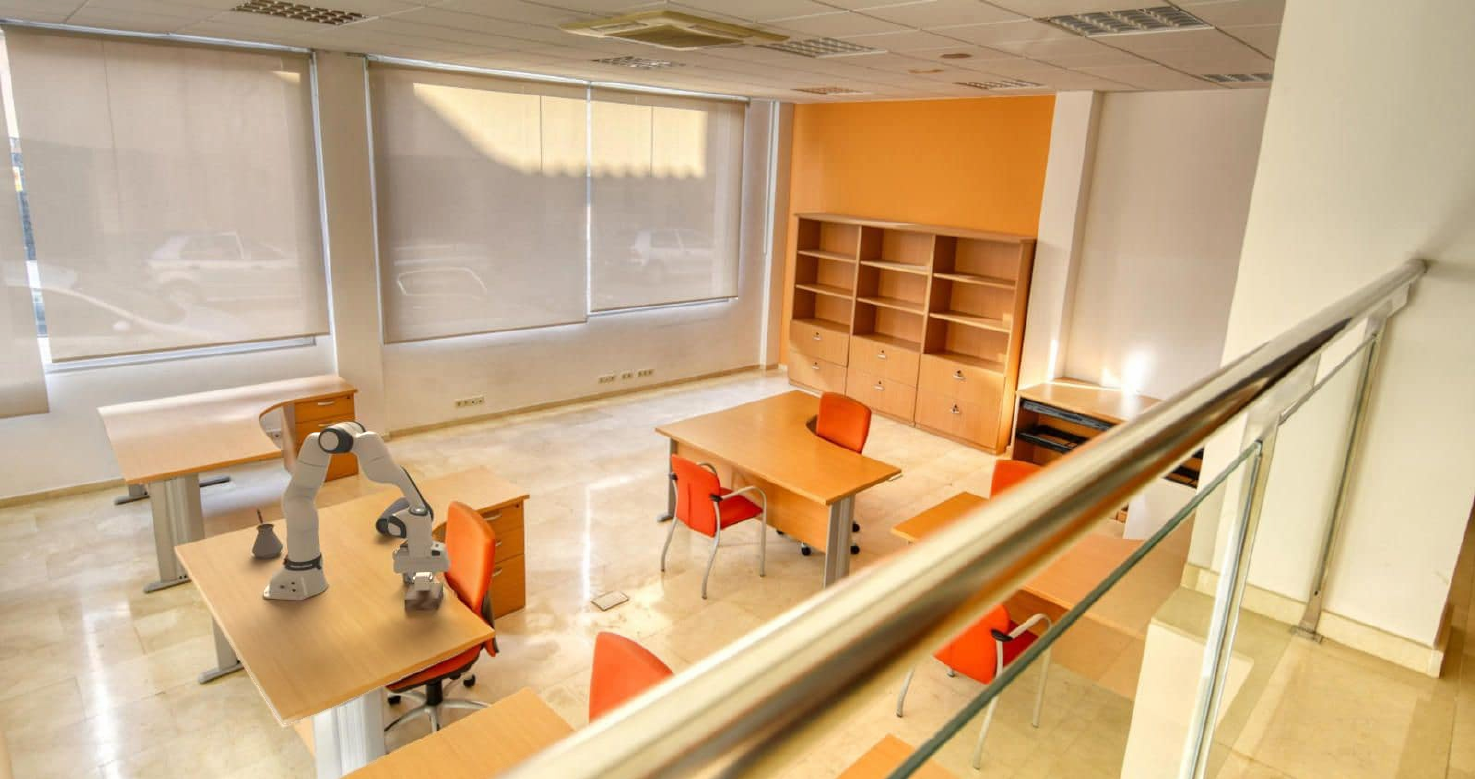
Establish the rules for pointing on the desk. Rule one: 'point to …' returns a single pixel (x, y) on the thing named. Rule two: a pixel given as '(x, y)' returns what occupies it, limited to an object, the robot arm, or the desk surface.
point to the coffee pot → (266, 541)
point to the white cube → (422, 581)
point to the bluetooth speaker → (393, 508)
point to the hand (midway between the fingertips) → (423, 581)
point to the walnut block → (424, 598)
